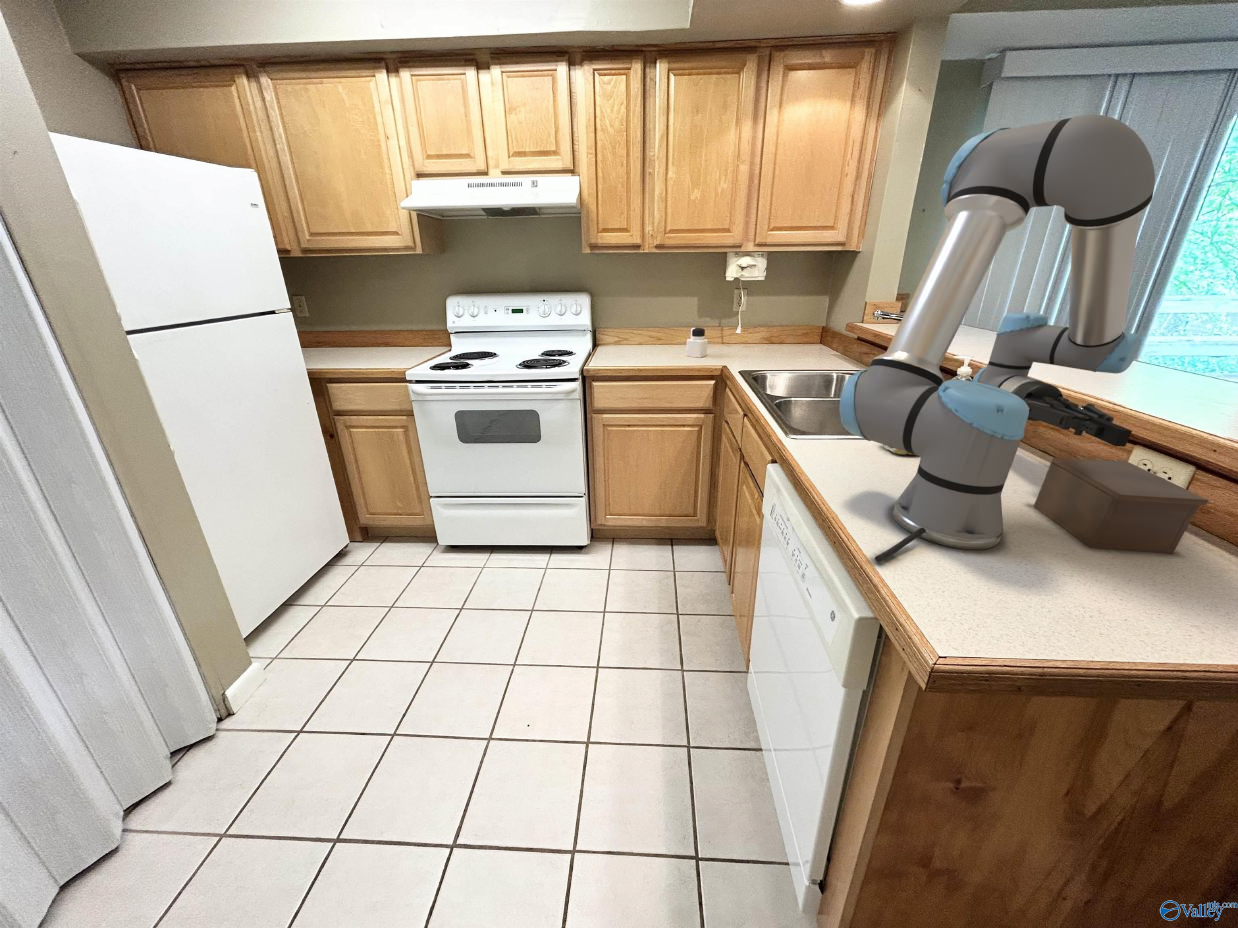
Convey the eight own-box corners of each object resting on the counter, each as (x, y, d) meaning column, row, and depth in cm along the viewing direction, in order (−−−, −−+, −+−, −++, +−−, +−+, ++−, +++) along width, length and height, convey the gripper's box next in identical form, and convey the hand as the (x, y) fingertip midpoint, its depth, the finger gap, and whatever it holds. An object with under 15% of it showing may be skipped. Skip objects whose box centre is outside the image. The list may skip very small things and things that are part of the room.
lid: (1206, 505, 70) (1209, 500, 70) (1117, 499, 72) (1120, 494, 71) (1124, 465, 83) (1126, 461, 83) (1051, 461, 85) (1052, 457, 84)
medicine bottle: (706, 355, 217) (709, 327, 212) (700, 358, 211) (702, 329, 207) (692, 353, 221) (694, 326, 216) (685, 356, 215) (687, 328, 210)
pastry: (915, 445, 116) (920, 430, 115) (935, 456, 110) (939, 440, 109) (878, 445, 116) (882, 430, 114) (895, 456, 109) (899, 441, 108)
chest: (1173, 553, 74) (1201, 502, 71) (1090, 547, 76) (1113, 497, 72) (1103, 511, 87) (1124, 465, 83) (1033, 506, 88) (1051, 461, 85)
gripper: (1057, 417, 100) (1158, 462, 78) (989, 414, 101) (1069, 457, 80) (1071, 381, 97) (1180, 418, 75) (1000, 379, 98) (1087, 414, 77)
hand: (1123, 438), depth 77 cm, fingers closed
